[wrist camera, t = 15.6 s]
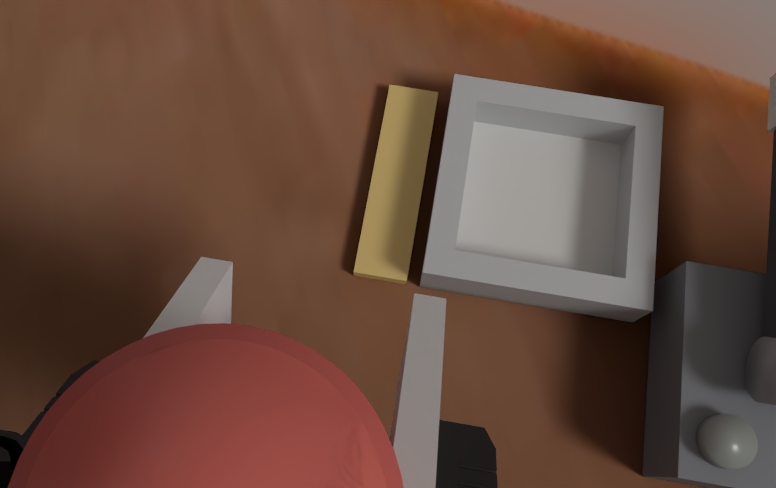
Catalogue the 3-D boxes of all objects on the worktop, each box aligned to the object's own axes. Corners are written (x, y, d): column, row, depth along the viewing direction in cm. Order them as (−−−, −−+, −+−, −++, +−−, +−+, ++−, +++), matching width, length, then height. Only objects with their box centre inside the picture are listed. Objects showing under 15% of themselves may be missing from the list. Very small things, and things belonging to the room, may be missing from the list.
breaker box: (642, 476, 24) (686, 478, 20) (652, 283, 26) (694, 255, 23) (846, 512, 24) (926, 520, 20) (840, 314, 26) (911, 291, 22)
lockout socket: (354, 275, 26) (351, 260, 24) (389, 90, 28) (390, 64, 26) (632, 322, 26) (653, 311, 24) (644, 130, 28) (663, 106, 26)
